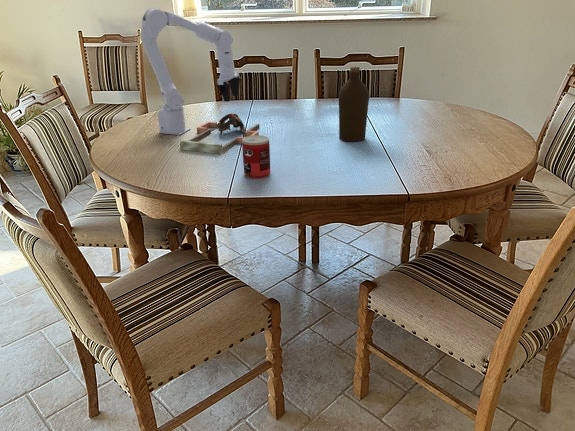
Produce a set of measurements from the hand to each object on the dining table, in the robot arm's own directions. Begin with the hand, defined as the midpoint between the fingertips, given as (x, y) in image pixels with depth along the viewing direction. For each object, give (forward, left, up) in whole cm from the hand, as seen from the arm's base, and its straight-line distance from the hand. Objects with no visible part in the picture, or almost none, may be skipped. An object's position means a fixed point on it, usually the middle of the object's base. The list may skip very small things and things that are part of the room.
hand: (231, 98), depth 192 cm
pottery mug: (+5, -11, -10) cm, 16 cm away
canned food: (+32, -49, -10) cm, 59 cm away
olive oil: (+51, -6, -10) cm, 52 cm away
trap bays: (+5, -15, -10) cm, 18 cm away
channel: (+5, -19, -10) cm, 22 cm away
